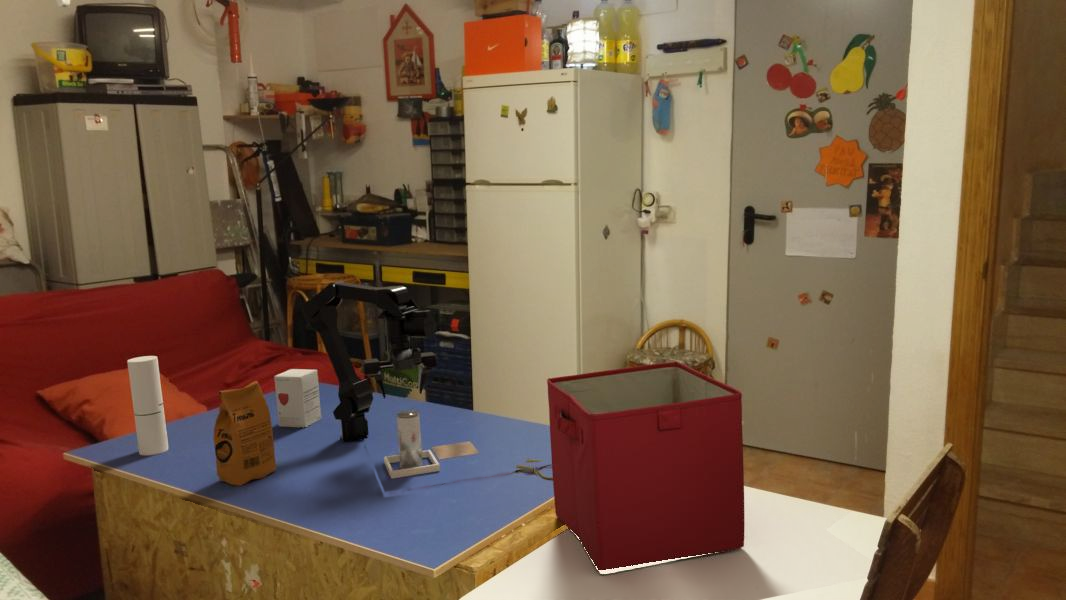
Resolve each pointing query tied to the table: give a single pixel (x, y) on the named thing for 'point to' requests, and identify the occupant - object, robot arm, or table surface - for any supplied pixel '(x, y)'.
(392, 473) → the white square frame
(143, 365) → the cylindrical container
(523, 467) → the extension cord
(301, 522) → the table surface
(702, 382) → the storage cube
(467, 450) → the walnut board
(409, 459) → the shiny metal canister
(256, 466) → the coffee package
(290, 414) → the supplement box
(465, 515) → the table surface
